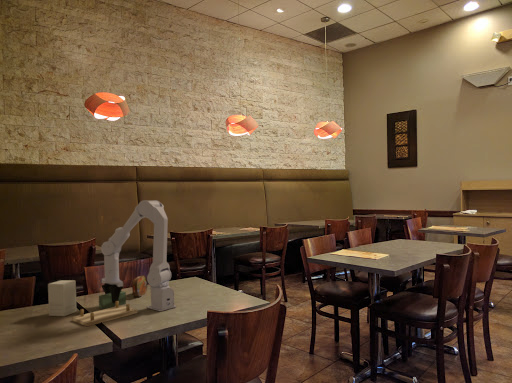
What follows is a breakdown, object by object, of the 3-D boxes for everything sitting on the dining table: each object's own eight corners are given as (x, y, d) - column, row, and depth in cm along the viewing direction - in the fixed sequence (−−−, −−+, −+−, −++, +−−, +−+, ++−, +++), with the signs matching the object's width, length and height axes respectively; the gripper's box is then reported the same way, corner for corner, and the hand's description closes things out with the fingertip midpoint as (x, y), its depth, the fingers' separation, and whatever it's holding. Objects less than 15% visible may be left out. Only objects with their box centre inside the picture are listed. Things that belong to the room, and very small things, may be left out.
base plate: (137, 312, 153) (137, 303, 153) (86, 326, 138) (86, 315, 138) (121, 308, 161) (121, 299, 161) (72, 320, 146) (71, 310, 146)
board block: (126, 303, 168) (125, 292, 168) (103, 309, 160) (103, 296, 161) (121, 302, 171) (120, 290, 171) (99, 307, 163) (98, 295, 163)
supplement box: (77, 311, 158) (76, 280, 159) (63, 316, 151) (62, 284, 152) (62, 310, 160) (61, 279, 161) (48, 315, 153) (47, 283, 154)
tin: (138, 298, 177) (137, 279, 177) (131, 298, 177) (130, 280, 177) (148, 290, 192) (147, 273, 192) (141, 291, 192) (141, 273, 192)
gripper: (94, 269, 168) (95, 301, 167) (111, 272, 158) (112, 306, 158) (109, 267, 173) (110, 297, 173) (127, 269, 163) (128, 302, 163)
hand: (112, 301), depth 165 cm, fingers closed on board block, 4 cm apart
